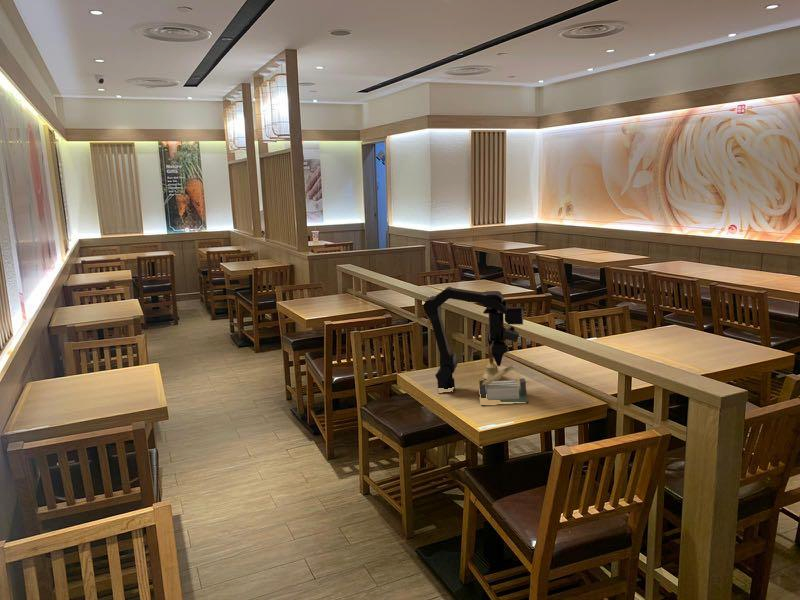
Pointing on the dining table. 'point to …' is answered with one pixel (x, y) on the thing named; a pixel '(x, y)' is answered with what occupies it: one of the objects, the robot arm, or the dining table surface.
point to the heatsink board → (504, 391)
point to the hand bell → (491, 366)
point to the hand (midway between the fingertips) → (497, 361)
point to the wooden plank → (498, 375)
